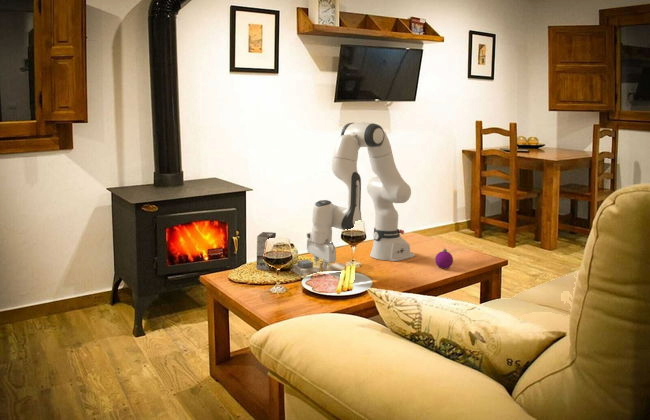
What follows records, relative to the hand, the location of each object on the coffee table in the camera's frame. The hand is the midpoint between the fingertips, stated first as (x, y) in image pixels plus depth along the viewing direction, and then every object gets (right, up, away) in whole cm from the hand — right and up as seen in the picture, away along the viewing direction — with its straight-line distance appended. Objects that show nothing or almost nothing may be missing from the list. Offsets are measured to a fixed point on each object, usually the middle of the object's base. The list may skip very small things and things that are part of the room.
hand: (320, 267), depth 270 cm
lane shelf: (+1, -2, +1) cm, 3 cm away
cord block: (-4, -2, -2) cm, 5 cm away
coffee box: (-25, -1, +3) cm, 25 cm away
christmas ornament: (+57, -2, +14) cm, 59 cm away
